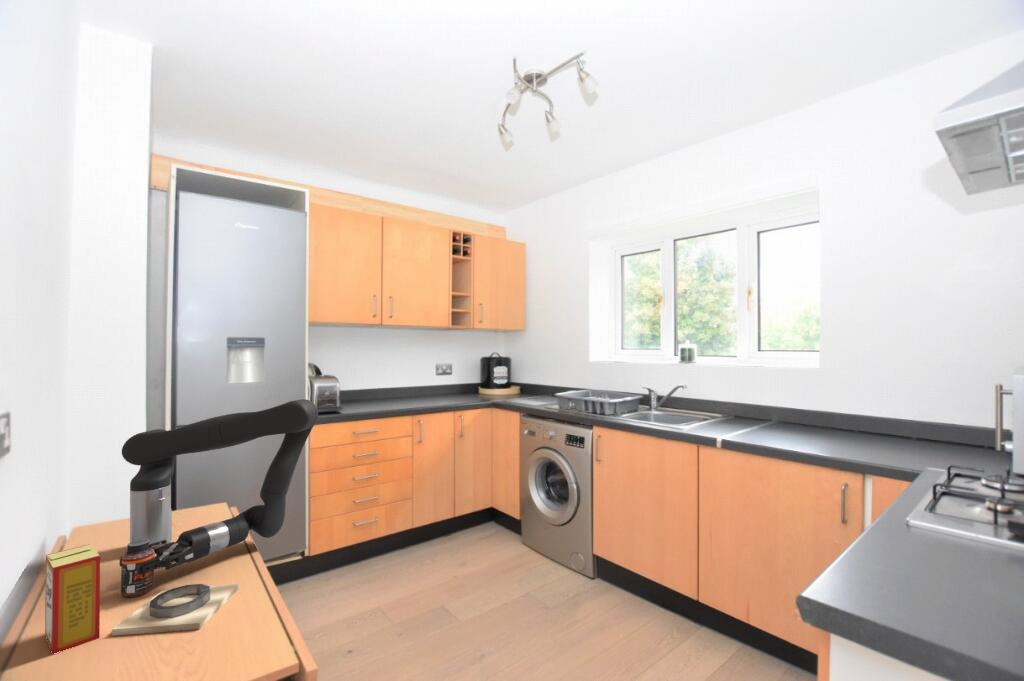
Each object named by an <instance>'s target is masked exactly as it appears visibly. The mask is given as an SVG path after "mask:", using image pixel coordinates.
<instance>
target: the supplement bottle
mask: <svg viewBox="0 0 1024 681" xmlns="http://www.w3.org/2000/svg"><path fill="white" fill-rule="evenodd" d="M126 547H127V549H126V550H127V551H126V552H125V553H124V554H123V555H122V556H121V557H122V564H121V566H120V567H121V570H120V571H121V572H120V595H121V596H122V597H124V598H134V597H139V596H142V595H145V594H147V593H149V592H150V591H151V590H153V588H154V581H155V580H154V579H155V570H153V571H150V572H147V573H144V574H141V575H139V574H137V566H138V565H139V564H141V563H144V562H147V561H150V560H153V559H154V550H153V549H151V548H149V540H147V539H144V540H137V541H133V542H131V543H130V542H129V543H128V544H127V546H126Z"/></svg>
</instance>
